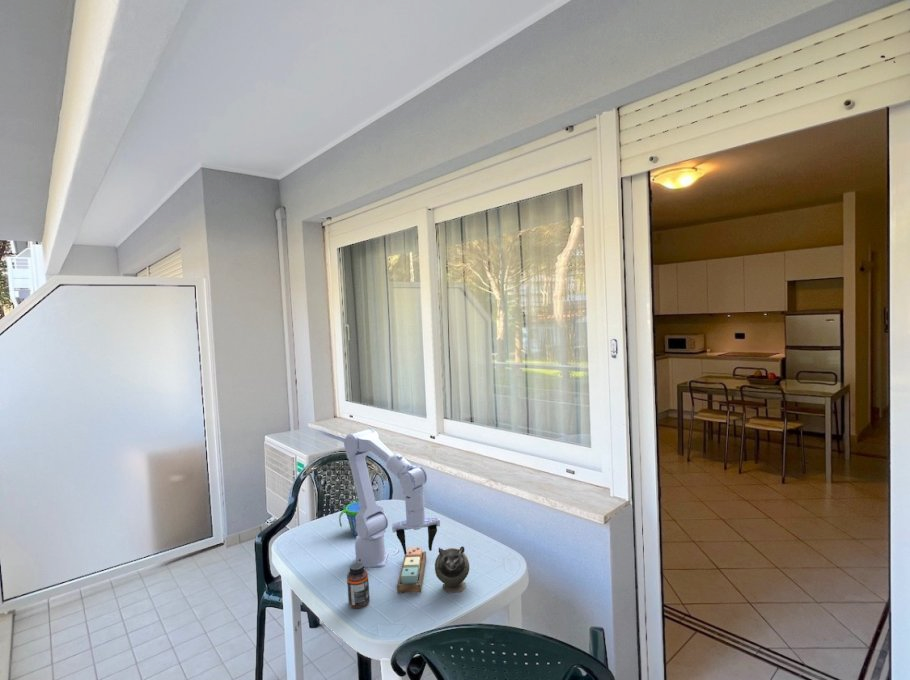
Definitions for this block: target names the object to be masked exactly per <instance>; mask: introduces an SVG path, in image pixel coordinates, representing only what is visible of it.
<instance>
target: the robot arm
mask: <svg viewBox="0 0 910 680" xmlns="http://www.w3.org/2000/svg"><path fill="white" fill-rule="evenodd" d="M343 445H344V450H345V454H346V459H348V462H349V466H350V467H349V468H350V470H351V474H352V479H353V483H354V487H355V491H356V495H357V499H358V500H357V501H359V504H360V510H359V512H358V513H357V515H356V517H355V519H356V531H357V534H358V536H356V538H355V543H354V545H355V548H354V549H355V562H362V563H363V564H364V568H370V567H371V568H372V567H373V568H374V567H385V565H386V561H387V560H388V555H389V552H386V547H385V535H384V534H385V533H386V529H387V528H388V527H389V518H388V516H387V514H386V513H385V509H384V507H383V506H381V505H379V504H377V501H376V497H375V493H374V490H373V486H372V485H373V484H372V481H371V478H370V474H369V469H368V465H367V461H366V457H367V456H368V454H369V452H371V453H372V454H374V455H375V456H377V457H378V458H379V459H380V460H382V461H383V462H385V463H386V468H387V470H388V471H389V472H391V474H393V475H394V476H395V477H396V478H397V479H398V480H399V483H400V486H401V488H402V493H403V495H404V499H405V500H404V501H405V502H404V503H405V515H406V516H405V517H406V518H405V519H404V520H402V521H399V522H394V523H392V524H391V527H392V533H396V537H397V539H398V540H399V542H400V544H401V547H402V550H403V555H405V554H407V546H406V533H405V531H406V530H414V531H418V530H421V529H422V528H427V534H428V535H427V536H428V538H427V539H428V542H427V543H428V544H427V545H428V551H429V552H431V551H432V549H433V548H432V547H433V544H434V543H433V542H434V540H435V537H436V534H437V532H438V527H441V519H440V517H426V511H425V496H424V495H425V493H424V491H425V490H424V485H425V484H426V483H427V480H428V475H427V473H426V471H425V469H424V468H423V467H422V466H420V465H413V464H412V463H411V462H409V461H408V460H407V459H406V458H404V455H402V454H399V453H393V451H391V450H390V449H389V448H388V447H387V446H386V445H385V444H384V443H383V442H382V441H381V440H380V436H379V433H378V432H376V431H375V429H373V428H370V427H369V428H367V429H363V430H360V431H358V432H353V433H348V434H347V435H346V436H345V439H344V441H343Z"/></svg>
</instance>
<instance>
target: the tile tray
mask: <svg viewBox="0 0 910 680" xmlns="http://www.w3.org/2000/svg"><path fill="white" fill-rule="evenodd" d="M405 558H406V554H404V556H403V561H402V564H401V568H400V571H399V577H398V581H397V584H396V591H397V592H396V593H397V594H399V595H400V594H421V593H422V590H423V589H422V588H423V583H424V577H425V570H426V564H427V551H422V561H420V565H421V567H420V572H418V574H419V578H418V583H416V584H402V581H401V575H402V571H403V568H404V562H405Z"/></svg>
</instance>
